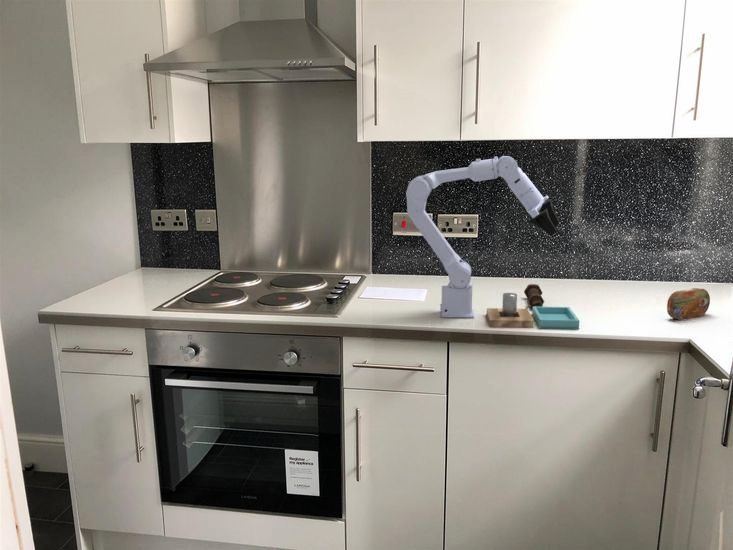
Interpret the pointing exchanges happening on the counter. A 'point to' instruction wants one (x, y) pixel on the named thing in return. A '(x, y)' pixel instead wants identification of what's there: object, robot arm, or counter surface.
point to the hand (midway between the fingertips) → (554, 229)
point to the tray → (555, 318)
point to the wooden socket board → (509, 318)
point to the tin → (688, 303)
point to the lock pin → (509, 305)
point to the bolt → (534, 295)
